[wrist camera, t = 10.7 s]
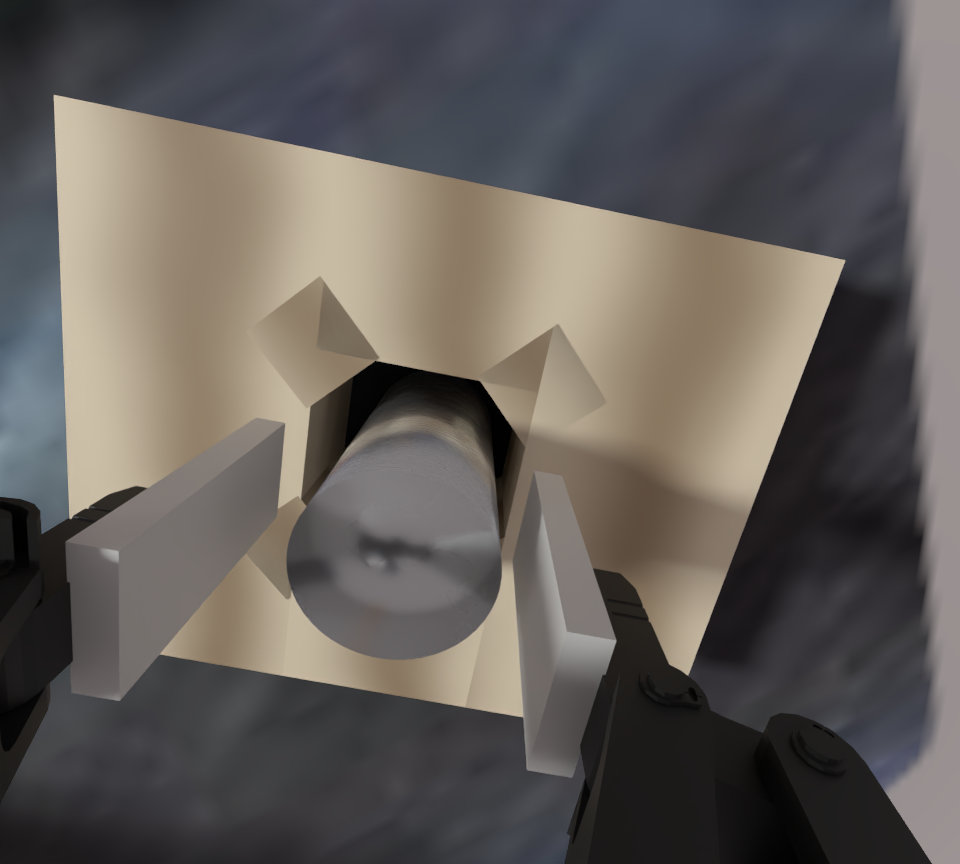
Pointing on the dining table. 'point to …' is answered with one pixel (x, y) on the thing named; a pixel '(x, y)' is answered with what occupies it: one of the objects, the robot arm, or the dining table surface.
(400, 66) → the dining table surface
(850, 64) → the dining table surface
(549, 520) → the robot arm
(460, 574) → the grey metal peg
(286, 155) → the jig
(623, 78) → the dining table surface
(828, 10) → the dining table surface
